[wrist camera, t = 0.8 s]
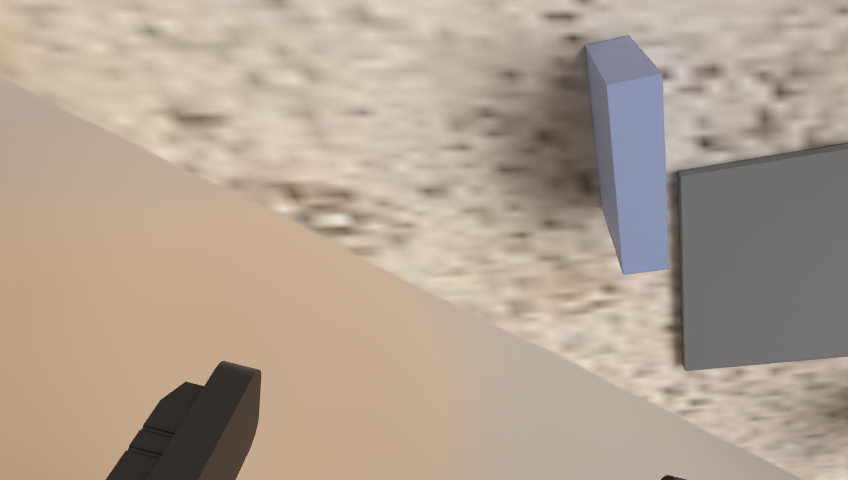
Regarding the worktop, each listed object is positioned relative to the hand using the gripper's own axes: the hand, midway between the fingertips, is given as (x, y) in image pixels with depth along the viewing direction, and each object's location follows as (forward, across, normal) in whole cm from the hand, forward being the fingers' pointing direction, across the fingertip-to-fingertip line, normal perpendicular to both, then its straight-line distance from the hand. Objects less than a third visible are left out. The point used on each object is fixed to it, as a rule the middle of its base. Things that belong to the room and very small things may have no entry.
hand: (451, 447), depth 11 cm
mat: (+22, -21, +4) cm, 30 cm away
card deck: (+21, -6, 0) cm, 22 cm away
